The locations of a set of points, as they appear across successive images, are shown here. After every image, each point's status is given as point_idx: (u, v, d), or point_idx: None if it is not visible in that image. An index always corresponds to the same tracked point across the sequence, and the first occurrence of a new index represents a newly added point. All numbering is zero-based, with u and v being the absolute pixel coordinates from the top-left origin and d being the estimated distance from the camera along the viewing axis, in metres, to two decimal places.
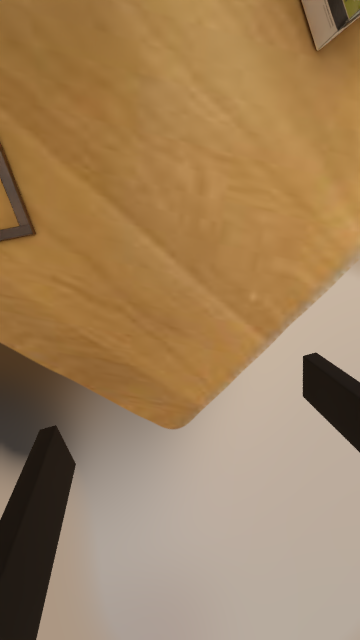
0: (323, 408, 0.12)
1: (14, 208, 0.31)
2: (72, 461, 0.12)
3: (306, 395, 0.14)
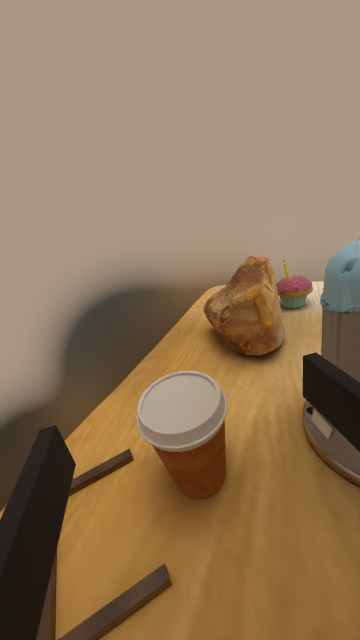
0: (323, 408, 0.12)
1: (76, 630, 0.20)
2: (72, 461, 0.12)
3: (306, 395, 0.14)
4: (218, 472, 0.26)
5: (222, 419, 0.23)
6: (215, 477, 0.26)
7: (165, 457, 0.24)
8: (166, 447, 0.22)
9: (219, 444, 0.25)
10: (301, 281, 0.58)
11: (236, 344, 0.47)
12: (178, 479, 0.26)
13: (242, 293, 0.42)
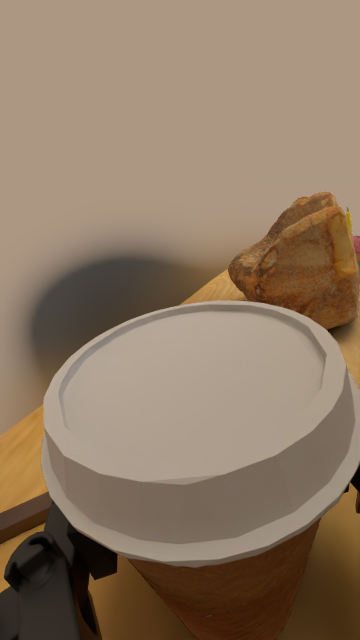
0: None
1: None
2: None
3: None
4: (293, 591, 0.09)
5: None
6: None
7: None
8: (113, 543, 0.04)
9: (319, 517, 0.07)
10: None
11: None
12: (170, 606, 0.08)
13: (302, 219, 0.25)
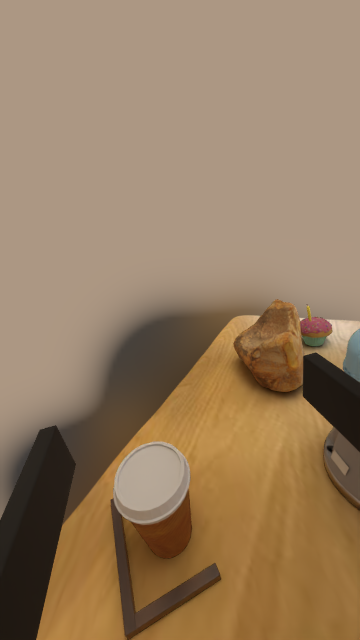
0: (323, 408, 0.12)
1: (152, 604, 0.27)
2: (72, 461, 0.12)
3: (306, 395, 0.14)
4: (181, 537, 0.31)
5: (182, 498, 0.27)
6: (177, 542, 0.31)
7: (133, 524, 0.28)
8: (132, 520, 0.26)
9: (180, 516, 0.29)
10: (322, 323, 0.65)
11: (263, 380, 0.54)
12: (146, 541, 0.30)
13: (272, 339, 0.50)
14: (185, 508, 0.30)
